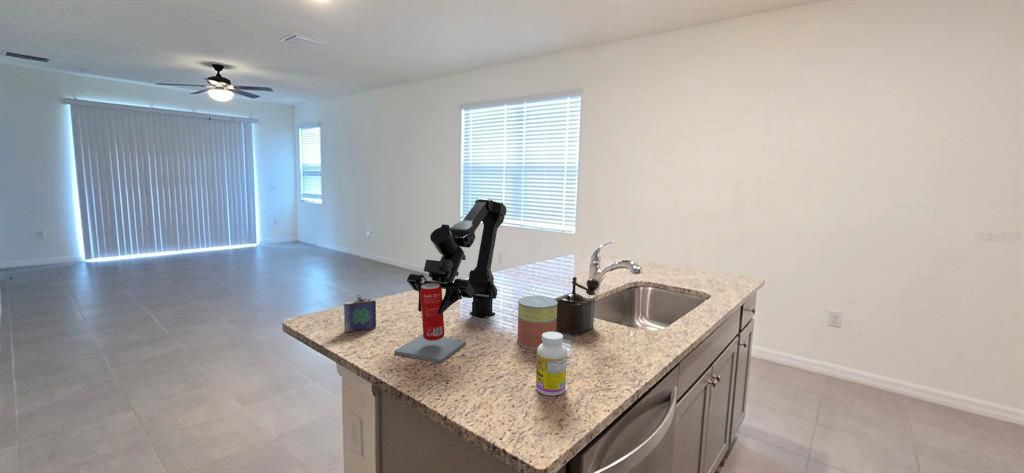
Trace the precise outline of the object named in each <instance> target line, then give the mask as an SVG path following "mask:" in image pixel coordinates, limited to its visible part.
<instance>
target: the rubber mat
mask: <svg viewBox="0 0 1024 473" xmlns="http://www.w3.org/2000/svg"><path fill="white" fill-rule="evenodd" d="M466 344H467V340H460V339H457V338H451V337H445V336H444V337H443V338H442V339H440V340H437V341H427V340H425V339H424V338H423V333H422V334H420V335H418V336H417V337H415V338H413V339H412V340H410V341H409V342H406V343H404V345H403V344H402V346H400V347H398V348H397V349H395V350H394V355H399V356H403V357H404V356H405V357H410V358H414V359H420V360H425V361H430V362H433V363H439V364H441V363H442V362H444V361H446V360H447V359H448V358H450V356H452V355H453V354H454V353H456V352H458V351H459V350H460V349H461V348H462V347H464V346H465V345H466Z"/></svg>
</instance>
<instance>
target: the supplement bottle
mask: <svg viewBox="0 0 1024 473" xmlns="http://www.w3.org/2000/svg"><path fill="white" fill-rule="evenodd" d="M563 341H564V335H563V334H562V332H561V333H560V332H559V331H556V332H545V333H543V334H542V342H543V343H542V344H540V345H539V347H538V349H536V370H535V388H536V391H537V392H538V393H540V394H542V395H544V396H549V397H550V396H551V397H552V396H553V397H555V396H560V395H562V394H564V392H565V390H566V385H567V384H566V381H567V380H566V379H567V361H568V358H567V357H568V350H567V348H566V347H565V345H563Z"/></svg>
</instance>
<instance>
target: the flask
mask: <svg viewBox="0 0 1024 473" xmlns="http://www.w3.org/2000/svg"><path fill="white" fill-rule="evenodd" d="M376 302H377V301H376V300H375V299H374V298H363V297H362V294H358V295H356V300H354V301H353V300H352V301H347V302H344V303H343V316H344V322H343V323H344V328H343V329H344V332H345V333H346V334H347V333H349V334H350V333H356V332H357V333H358V332H362V331H368V330H369V331H370V330H375V329H376V326H377V303H376Z"/></svg>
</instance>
